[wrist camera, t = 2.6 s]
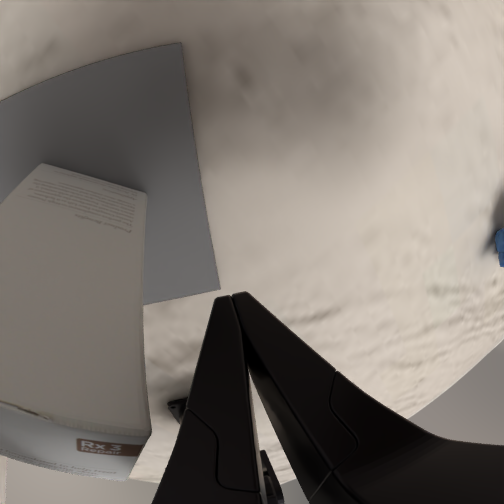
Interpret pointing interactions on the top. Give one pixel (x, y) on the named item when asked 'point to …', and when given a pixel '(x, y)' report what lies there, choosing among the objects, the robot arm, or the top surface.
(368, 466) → the robot arm
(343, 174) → the top surface
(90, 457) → the skincare box
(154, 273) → the rubber mat
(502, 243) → the grapes
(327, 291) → the top surface
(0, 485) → the alcohol
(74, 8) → the top surface
